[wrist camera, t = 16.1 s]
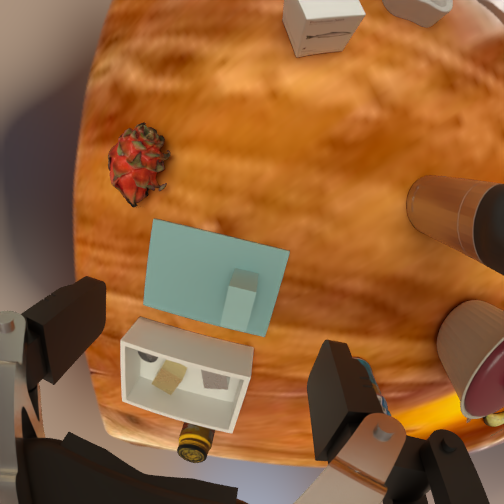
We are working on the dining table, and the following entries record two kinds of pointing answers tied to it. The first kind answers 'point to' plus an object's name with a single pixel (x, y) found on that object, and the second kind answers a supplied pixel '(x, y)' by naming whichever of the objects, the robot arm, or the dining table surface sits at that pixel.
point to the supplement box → (321, 24)
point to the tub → (191, 387)
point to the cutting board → (493, 420)
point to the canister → (474, 356)
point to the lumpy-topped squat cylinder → (419, 10)
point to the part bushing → (147, 357)
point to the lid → (213, 277)
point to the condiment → (195, 442)
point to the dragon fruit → (137, 163)
